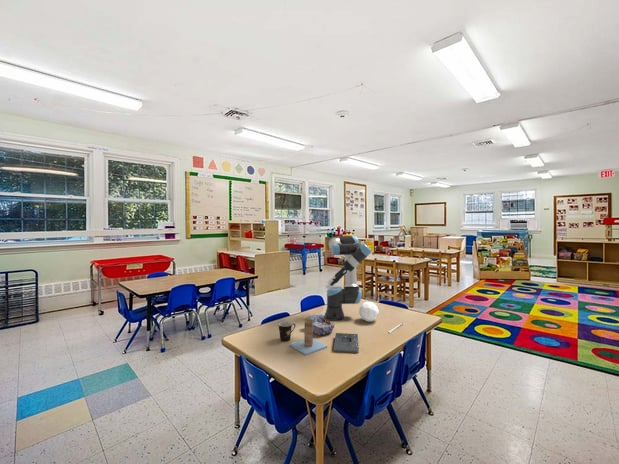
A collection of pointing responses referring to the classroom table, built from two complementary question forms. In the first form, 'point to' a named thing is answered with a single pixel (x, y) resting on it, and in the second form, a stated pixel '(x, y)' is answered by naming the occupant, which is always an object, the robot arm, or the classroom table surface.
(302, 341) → the blue board
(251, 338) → the classroom table surface
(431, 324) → the classroom table surface
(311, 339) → the walnut peg
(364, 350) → the classroom table surface
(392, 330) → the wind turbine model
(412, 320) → the classroom table surface
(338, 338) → the socket block
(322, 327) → the cell model
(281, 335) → the coffee mug
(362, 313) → the geometric sphere
